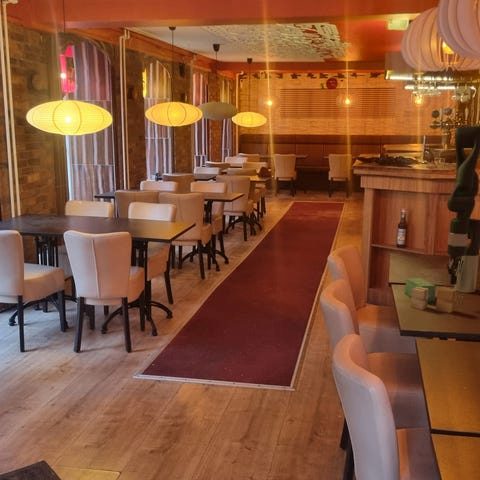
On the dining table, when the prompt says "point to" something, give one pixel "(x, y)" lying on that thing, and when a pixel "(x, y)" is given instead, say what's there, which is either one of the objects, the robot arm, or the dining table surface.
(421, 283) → the box
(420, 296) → the birch pillar
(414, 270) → the dining table surface
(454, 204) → the robot arm
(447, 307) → the oak pillar
